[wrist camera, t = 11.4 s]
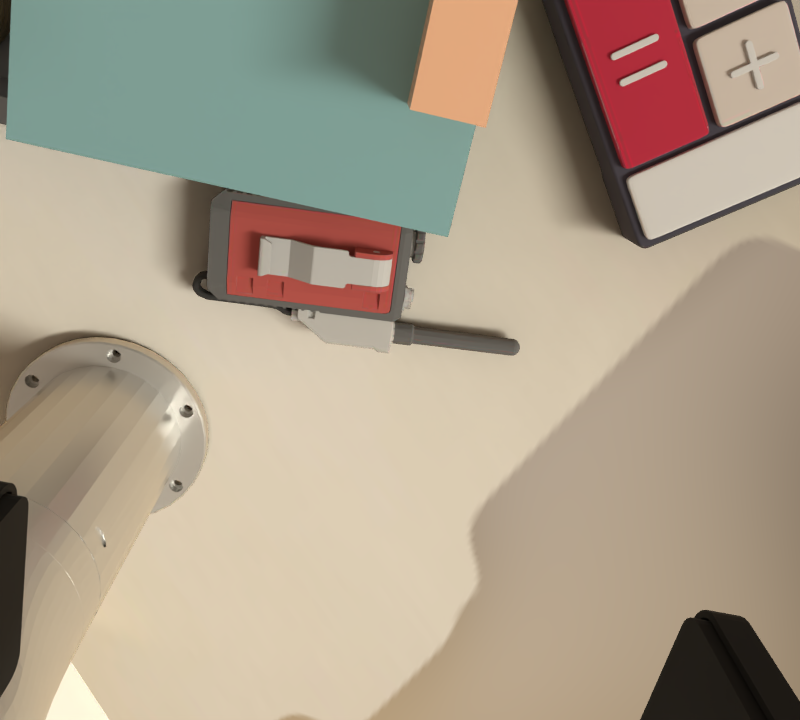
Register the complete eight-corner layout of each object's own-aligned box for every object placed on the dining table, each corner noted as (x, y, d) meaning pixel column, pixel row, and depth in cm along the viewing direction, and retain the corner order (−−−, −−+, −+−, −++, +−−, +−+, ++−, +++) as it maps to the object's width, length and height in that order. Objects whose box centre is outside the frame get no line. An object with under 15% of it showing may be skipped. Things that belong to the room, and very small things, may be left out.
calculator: (767, -129, 36) (844, 170, 40) (730, -105, 40) (804, 164, 44) (548, -23, 37) (644, 254, 42) (534, -11, 42) (623, 241, 46)
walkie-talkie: (196, 318, 47) (513, 357, 49) (178, 341, 43) (524, 383, 44) (203, 175, 44) (540, 220, 45) (183, 186, 40) (555, 235, 41)
